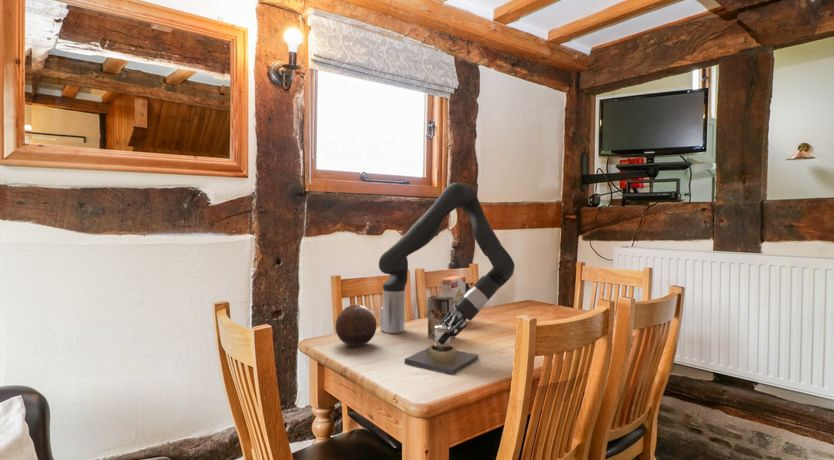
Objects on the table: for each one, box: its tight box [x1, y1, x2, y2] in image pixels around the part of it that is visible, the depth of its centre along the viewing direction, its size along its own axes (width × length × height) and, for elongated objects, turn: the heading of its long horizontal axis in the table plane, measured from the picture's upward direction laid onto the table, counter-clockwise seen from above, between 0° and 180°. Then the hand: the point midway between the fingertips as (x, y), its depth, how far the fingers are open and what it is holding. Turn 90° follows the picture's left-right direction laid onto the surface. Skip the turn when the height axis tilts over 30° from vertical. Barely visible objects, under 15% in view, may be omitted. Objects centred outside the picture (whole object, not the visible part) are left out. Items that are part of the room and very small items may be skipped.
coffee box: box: [427, 295, 454, 340], centre depth 177 cm, size 9×6×16 cm
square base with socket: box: [404, 344, 479, 376], centre depth 148 cm, size 18×18×4 cm
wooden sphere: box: [335, 304, 377, 347], centre depth 164 cm, size 15×15×15 cm
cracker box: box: [440, 275, 467, 312], centre depth 200 cm, size 14×6×21 cm, turn 148°
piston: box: [434, 324, 451, 351], centre depth 148 cm, size 5×5×9 cm
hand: (437, 340), depth 147 cm, fingers closed on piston, 5 cm apart
